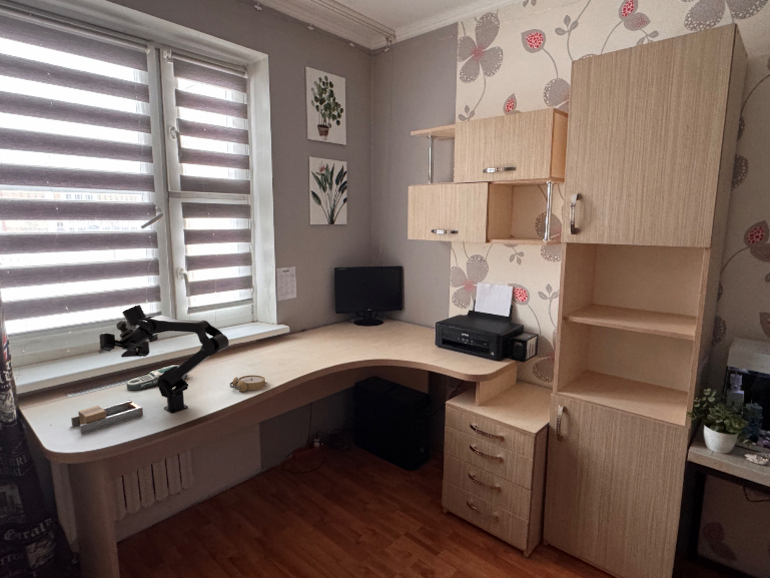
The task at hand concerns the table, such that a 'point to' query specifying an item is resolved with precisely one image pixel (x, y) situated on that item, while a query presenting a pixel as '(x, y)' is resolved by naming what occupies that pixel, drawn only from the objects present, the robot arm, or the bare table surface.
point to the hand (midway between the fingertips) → (110, 354)
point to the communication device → (148, 379)
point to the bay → (114, 419)
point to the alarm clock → (248, 383)
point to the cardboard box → (91, 414)
